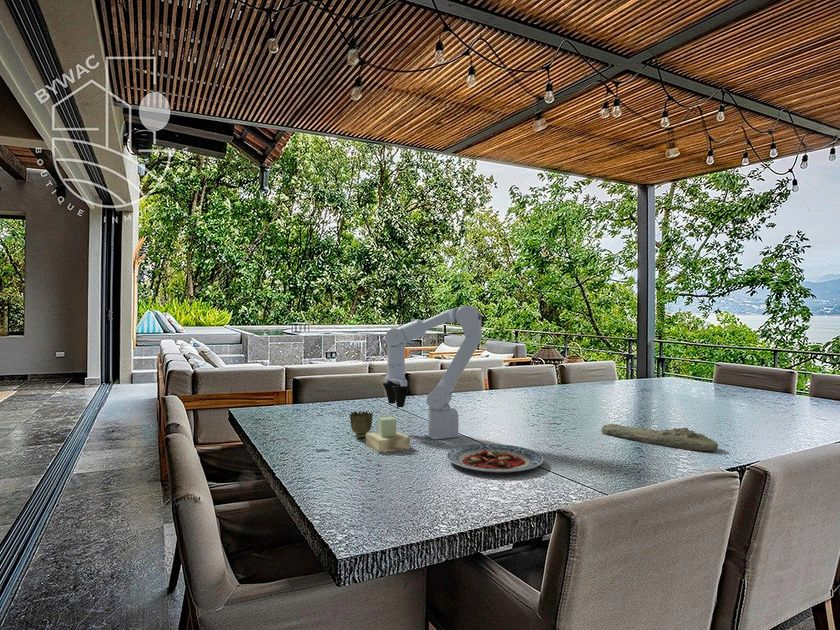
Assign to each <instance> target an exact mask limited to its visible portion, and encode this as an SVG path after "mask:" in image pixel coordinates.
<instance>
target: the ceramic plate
mask: <svg viewBox="0 0 840 630" xmlns="http://www.w3.org/2000/svg"><path fill="white" fill-rule="evenodd" d="M446 459H447V460H448V461H449V462H451V463H452V464H453V465H456V466H459V467H461V468H464V469H469V470H474V471H477V472H480V473H481V472H482V473H490V474H506V473H509V474H510V473H515V472H521V471H527V470H531V469H535V468H537V467H539V466H541V465H542V464H543V463H544V460H545V458H544V456H543V455H542V454H540V453H539V452H537V451H535V450H533V449H531V448H526V447H521V446H519V445H513V444H511V445H509V444H501V443H478V444H477V443H476V444H467V445H461V446H458V447H455V448H453V449H450V450H449V451H448V452H447V454H446Z"/></svg>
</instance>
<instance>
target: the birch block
mask: <svg viewBox="0 0 840 630" xmlns="http://www.w3.org/2000/svg"><path fill="white" fill-rule="evenodd" d="M365 446H366V447H367V448H369V447H370V449H371V448H372V449H371V450H373V451H374V450H375V451H374V452H376V451H377V452H376V453H378V454H382V453H381V452H384V453H388V452H387V451H391V452H395V451H394V450H399V451H402V450H401V449H406V450H410V449H411V436H410V435H409V436H408V435H407V434H405V433H403V432H400V431H398V430H396V436H390V437H381V436H380V435H378V431H376V432H367V434H366V438H365ZM409 448H410V449H409Z"/></svg>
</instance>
